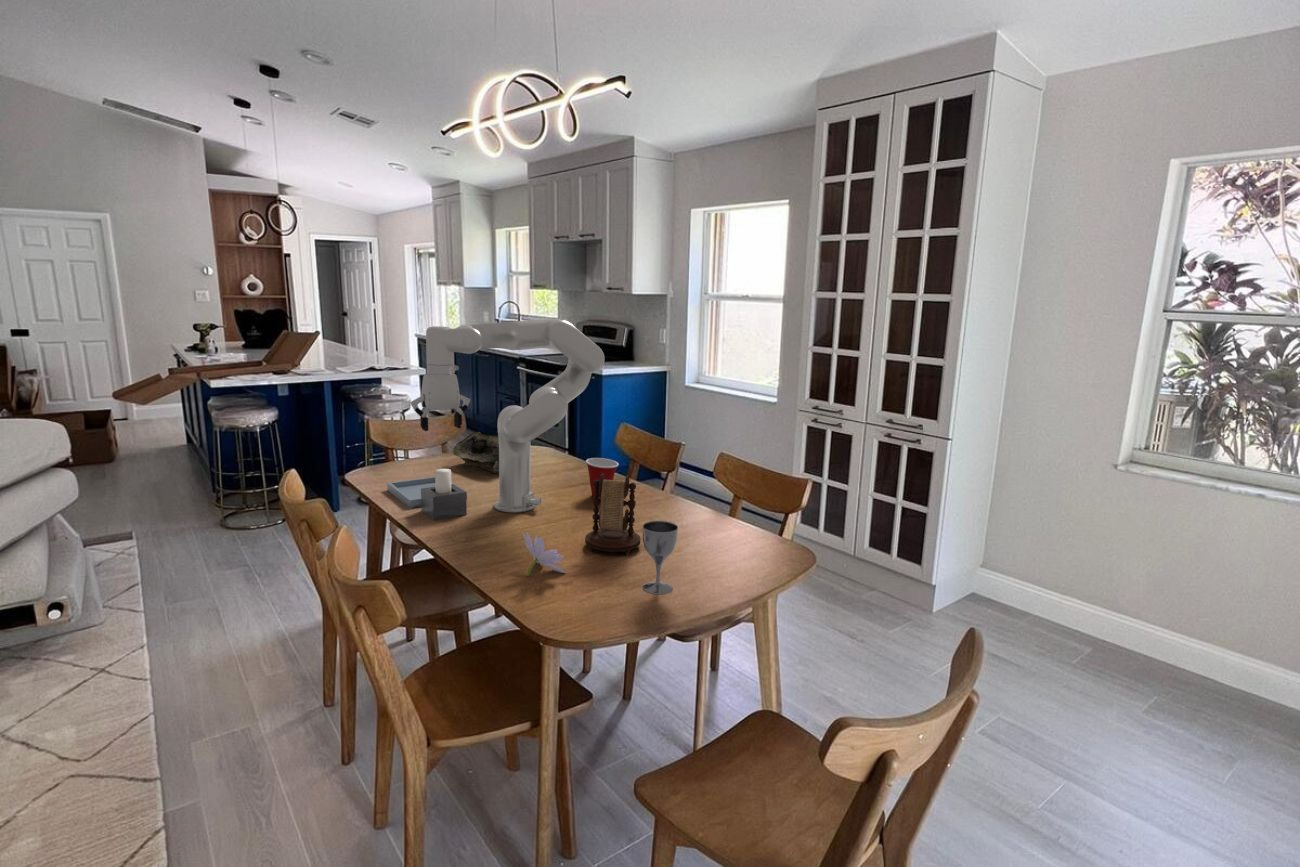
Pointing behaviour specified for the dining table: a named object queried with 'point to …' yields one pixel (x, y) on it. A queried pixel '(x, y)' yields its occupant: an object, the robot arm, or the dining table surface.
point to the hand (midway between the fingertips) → (441, 428)
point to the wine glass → (659, 550)
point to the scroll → (613, 517)
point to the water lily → (542, 554)
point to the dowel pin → (443, 481)
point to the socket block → (443, 503)
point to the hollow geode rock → (479, 451)
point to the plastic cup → (600, 470)
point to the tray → (411, 490)
